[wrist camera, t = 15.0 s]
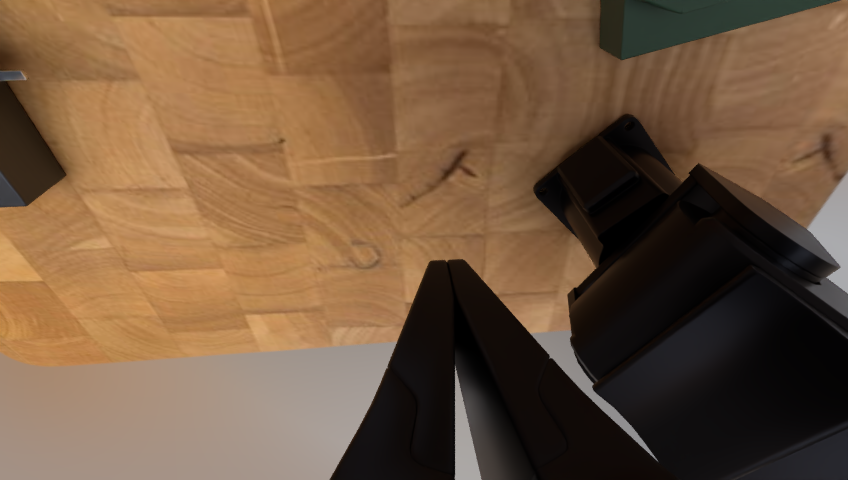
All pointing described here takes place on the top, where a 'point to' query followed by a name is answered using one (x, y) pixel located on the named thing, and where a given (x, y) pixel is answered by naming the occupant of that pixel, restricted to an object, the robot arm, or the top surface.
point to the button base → (682, 21)
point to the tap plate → (22, 151)
